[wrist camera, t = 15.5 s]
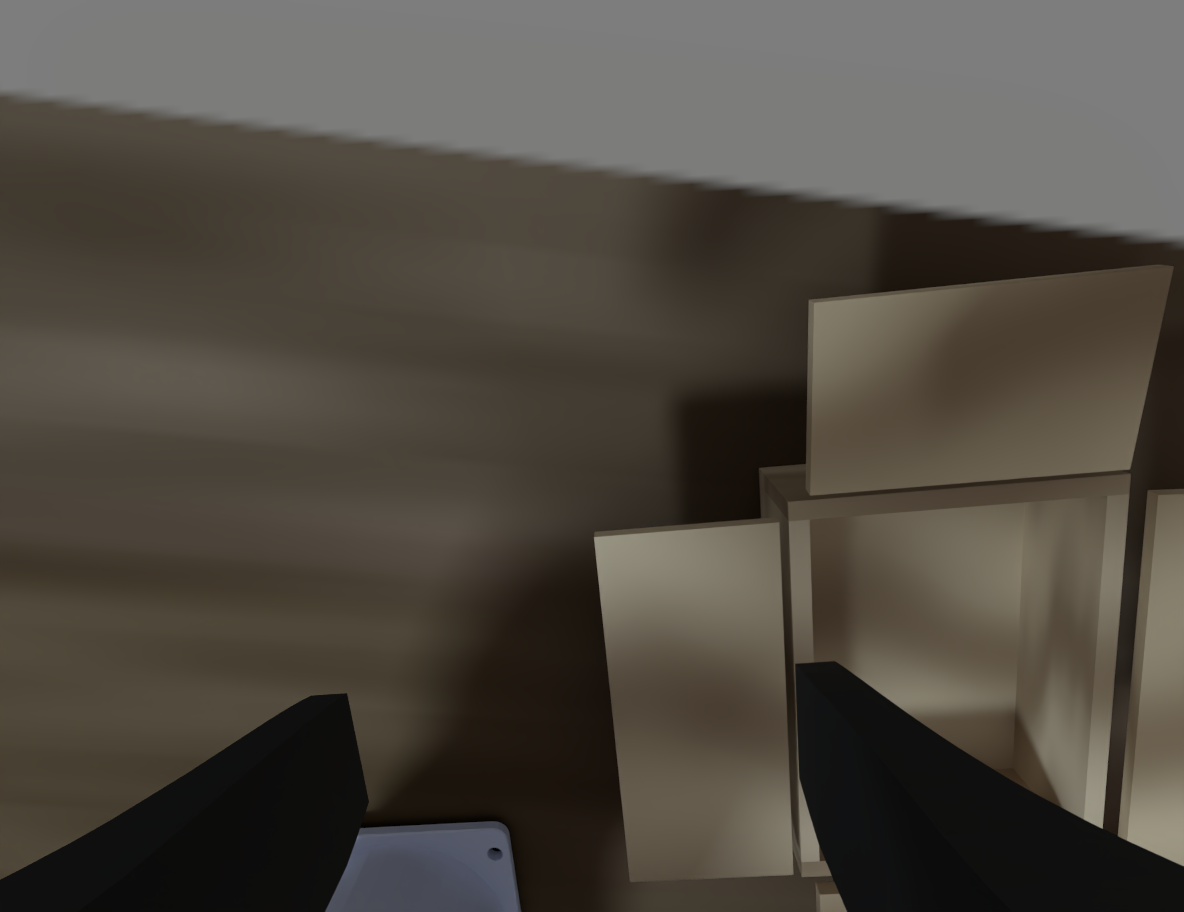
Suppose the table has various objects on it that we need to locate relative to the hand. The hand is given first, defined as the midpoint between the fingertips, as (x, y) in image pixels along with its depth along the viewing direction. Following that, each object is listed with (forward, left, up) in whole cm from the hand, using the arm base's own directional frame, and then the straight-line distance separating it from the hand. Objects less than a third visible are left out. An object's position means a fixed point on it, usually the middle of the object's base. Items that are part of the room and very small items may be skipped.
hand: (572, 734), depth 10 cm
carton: (-6, -7, -10) cm, 14 cm away
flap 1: (+4, -9, -6) cm, 11 cm away
